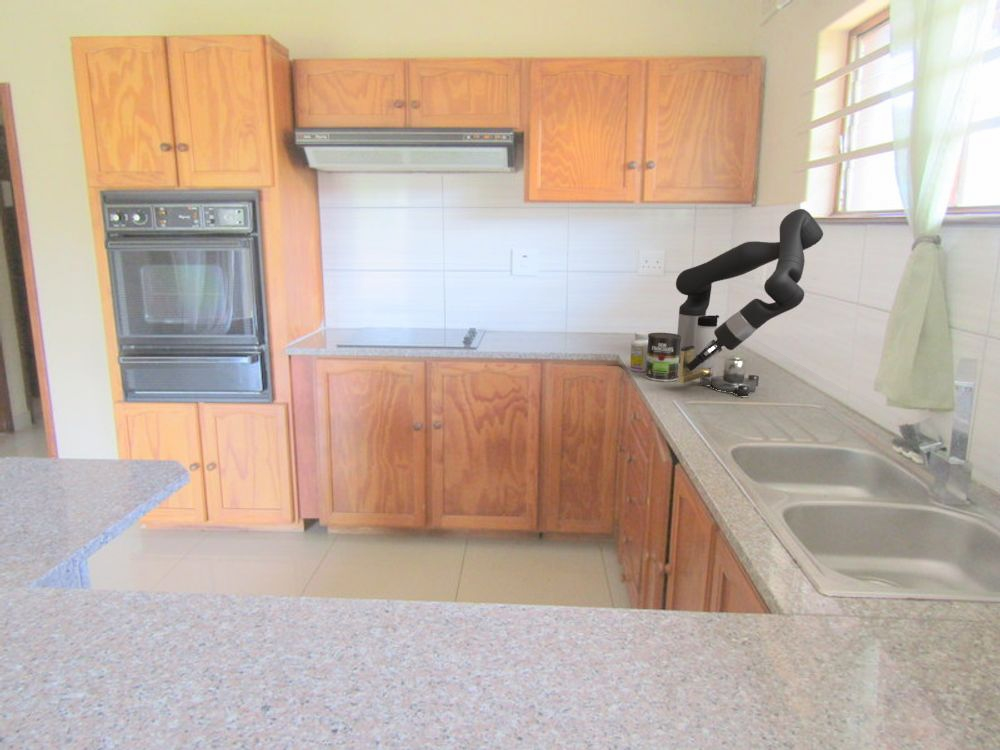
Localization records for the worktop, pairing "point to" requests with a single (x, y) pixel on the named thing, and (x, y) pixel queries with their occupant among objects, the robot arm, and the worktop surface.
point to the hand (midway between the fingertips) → (689, 368)
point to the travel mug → (705, 338)
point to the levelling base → (728, 385)
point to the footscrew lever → (685, 373)
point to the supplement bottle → (639, 352)
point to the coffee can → (663, 356)
